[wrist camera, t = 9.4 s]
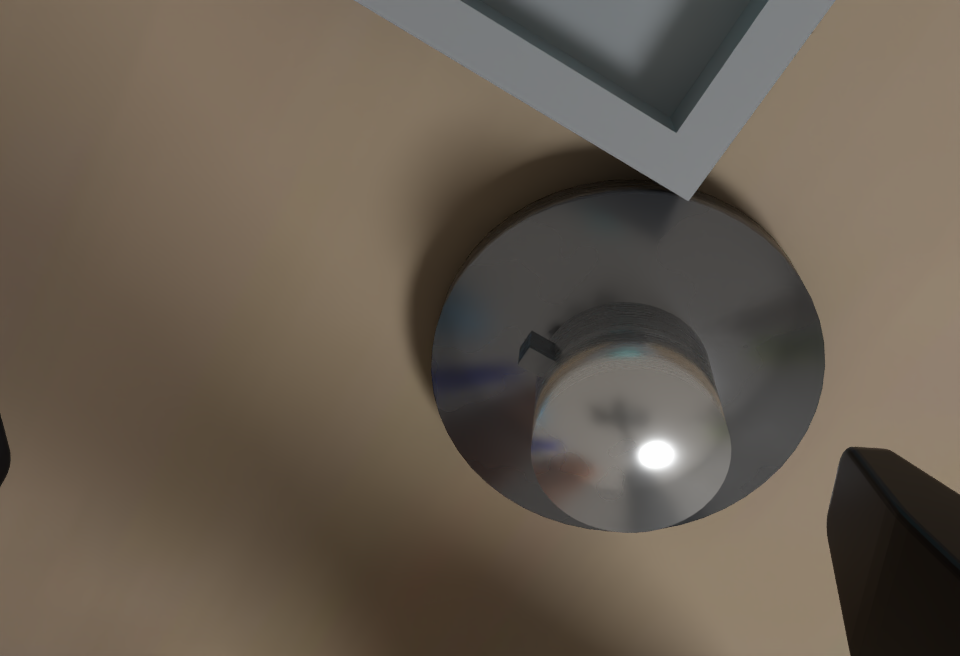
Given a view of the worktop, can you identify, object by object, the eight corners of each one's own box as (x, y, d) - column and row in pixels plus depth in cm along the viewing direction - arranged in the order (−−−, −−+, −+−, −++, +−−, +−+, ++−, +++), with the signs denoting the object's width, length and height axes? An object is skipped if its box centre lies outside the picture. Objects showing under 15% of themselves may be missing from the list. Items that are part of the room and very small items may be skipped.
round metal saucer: (897, 306, 20) (967, 399, 16) (667, 558, 24) (682, 676, 20) (561, 102, 19) (558, 155, 15) (375, 404, 23) (338, 503, 19)
